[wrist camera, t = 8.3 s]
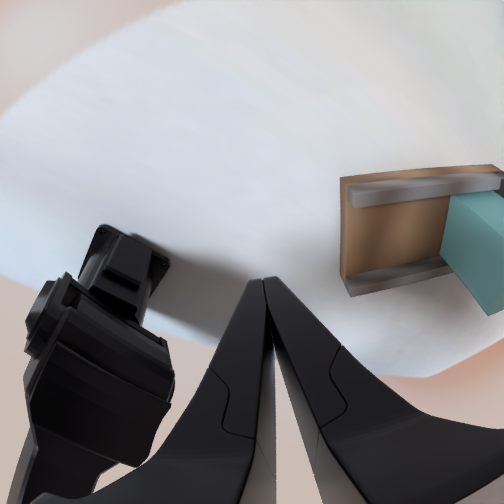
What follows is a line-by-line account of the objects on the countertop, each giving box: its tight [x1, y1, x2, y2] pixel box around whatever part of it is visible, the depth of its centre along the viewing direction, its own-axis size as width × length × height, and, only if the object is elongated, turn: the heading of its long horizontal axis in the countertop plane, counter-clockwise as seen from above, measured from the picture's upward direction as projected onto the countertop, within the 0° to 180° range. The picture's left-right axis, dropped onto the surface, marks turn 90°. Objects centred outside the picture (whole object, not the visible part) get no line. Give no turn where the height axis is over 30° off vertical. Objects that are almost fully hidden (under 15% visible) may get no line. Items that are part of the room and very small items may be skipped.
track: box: [340, 164, 504, 297], centre depth 20 cm, size 16×9×8 cm, turn 99°
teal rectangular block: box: [439, 190, 504, 316], centre depth 19 cm, size 5×6×8 cm
